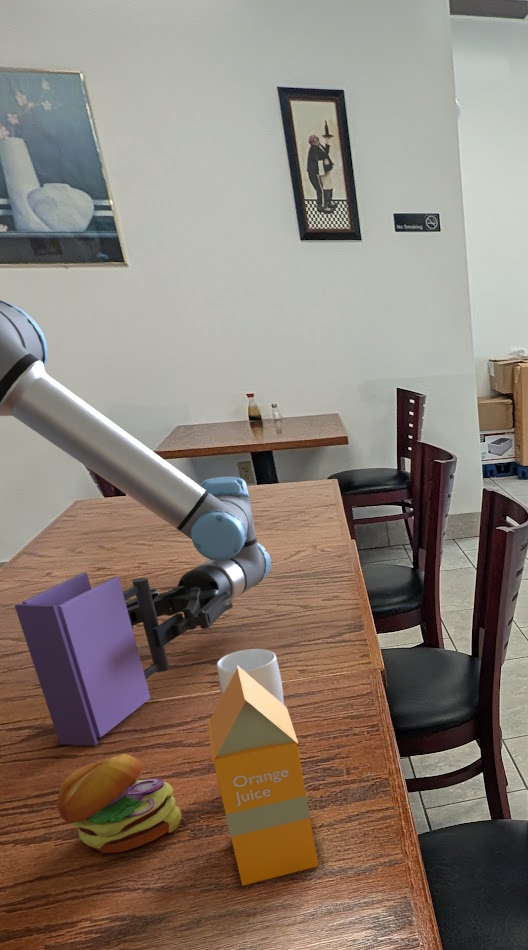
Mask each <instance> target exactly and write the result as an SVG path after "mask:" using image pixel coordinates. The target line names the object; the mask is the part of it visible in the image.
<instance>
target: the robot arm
mask: <svg viewBox="0 0 528 950" xmlns="http://www.w3.org/2000/svg"><path fill="white" fill-rule="evenodd" d="M48 355H49V348H48V343H47V340H46V337H45V334H44V333H43V331H42V329H41V327H40V325H39V324H38V323H37V321H35V320H34V318H33V317H32V316H31V315H30V314H28V313H27V312H26V311H25V310H23V309H21V308H20V307H17V306H16V305H14V304H13V303H9V302H5V301H3V300H1V299H0V417H14V418H15V419H16V420H18V421H19V422H21V423H22V424H24V425H25V426H26V427H28V428H29V429H31V430H32V431H34V432H35V433H37V434H38V435H40V436H41V437H42V438H44V439H46V440H47V441H48V442H49V443H51V444H52V445H54V446H56V447H57V448H58V449H60V450H62V451H63V452H64V453H66V454H67V455H69V456H70V457H71V458H73V459H74V460H76V461H78V462H79V463H80V464H81V465H83V466H85V467H86V468H87V469H89V470H91V472H94V473H95V474H97V475H98V476H99V477H101V478H102V479H104V480H105V481H107V482H108V483H109V484H111V485H112V486H114V487H115V488H117V489H118V490H120V491H121V492H122V493H124V494H125V495H127V496H129V497H130V498H131V499H132V500H134V501H136V502H137V503H139V504H140V505H141V506H143V507H144V508H146V509H147V510H149V511H150V512H152V513H153V514H155V515H156V516H157V517H159V518H161V520H163V521H165V522H166V523H168V524H169V525H170V526H172V527H173V528H175V530H178V531H179V532H180V533H182V534H184V535H185V536H186V537H187V538H188V539H190V540H191V542H192V545H193V547H194V548H195V550H196V551H197V552H198V553H199V554H200V555H201V556H202V557H204V558H206V559H208V560H206V561H204V562H202V563H201V564H199V565H198V566H195V567H194V568H192V569H190V570H188V571H187V572H186V573H185V572H184V574H183V575H182V576H181V577H180V578H179V581H178V583H177V586H175V587H173V588H172V589H170V590H168V591H165V592H162V593H159V591H158V589H157V588H150V591H151V595H152V599H153V603H154V607H155V611H156V615H157V618H159V617H161V616H168V617H169V618H167V619H166V620H164V621H163V622H161V623H159V625H158V626H156V627H155V628H153V629H152V632H153V636H154V640H155V644H156V647H163V646H164V647H165V646H166V645H167V644H168V643H170V642H172V641H173V640H175V639H176V638H178V637H179V636H180V635H182V634H183V635H184V633H186V632H187V631H191V630H192V631H193V630H195V629H196V628H197V627H200V628H201V629H202V630H203V629H204V630H207V629H209V628H210V627H211V626H212V625H213V624H214V623H215V622H216V621H217V620H218V619H219V618H220V617H221V616H222V615H223V614H224V613H225V612H227V611H229V610H230V609H233V607H234V606H233V600H235V599H236V598H238V597H240V596H241V595H243V594H244V593H246V592H247V591H249V590H250V589H252V588H254V587H256V586H257V585H259V583H261V582H262V581H263V580H264V579H265V578H266V577H267V576H268V574H269V573H270V572H271V568H272V558H271V555H270V554H269V553H268V551H267V550H266V548H265V547H264V546H263V544H260V543H259V542H258V539H257V536H256V530H255V524H254V523H255V522H254V519H253V511H252V504H251V495H250V494H249V490H248V486H247V485H248V484H247V482H246V480H244V479H243V478H242V477H238V476H218V477H210V478H207V479H205V480H203V481H202V482H200V484H198V483H197V482H195V481H194V480H192V479H191V478H190V477H188V476H187V475H186V474H185V473H183V472H182V471H181V470H179V469H178V468H176V467H175V466H173V465H172V464H171V463H170V462H168V461H167V460H165V459H164V458H162V457H161V456H160V455H158V454H157V453H156V452H154V451H153V450H151V449H150V448H149V447H147V446H146V445H144V443H142V442H141V441H139V440H138V439H136V438H135V437H134V436H133V435H131V434H129V432H127V431H125V429H123V428H121V427H120V426H119V425H117V424H116V423H115V422H114V421H112V420H110V419H109V418H108V417H106V416H105V415H104V414H102V413H101V412H99V411H98V410H97V409H95V408H94V407H92V406H91V405H90V404H89V403H87V402H86V401H84V400H83V399H82V398H80V397H79V396H77V395H76V394H75V393H73V392H72V391H70V390H69V389H68V388H67V387H65V386H64V385H63V384H62V383H60V382H59V381H57V380H55V378H53V377H52V376H50V375H49V374H48V373H47V372H46V368H45V366H46V364H47V361H48ZM125 603H126V607H127V610H128V614H129V618H130V622H131V626H132V629H133V630H134V626H136V625H138V624H141V623H142V624H143V621H142V617H141V613H140V610H139V606H138V602H137V598H136V597H135V598H132V599H129V600H128V601H125Z"/></svg>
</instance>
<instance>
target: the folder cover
mask: <svg viewBox="0 0 528 950" xmlns="http://www.w3.org/2000/svg"><path fill="white" fill-rule="evenodd" d="M131 582H132V586H131V587H129V588H128V589H125V590H124V591H123V588H122V583H121V580H120V577H119V576H113V577H111V578H109V579H108V580H107V579H106V580H105V581H103V582H101V583H100V584H97V585H95V586H94V587H91V589H90V590H88V591H86V592H84V593H82V594H80V595H78V596H76V597H74V598H72V599H70V600H69V601H67V602H65V603H63V604H61V605H59V606H57V609H58V612H59V615H60V618H61V622H62V625H63V628H64V632H65V635H66V638H67V641H68V645H69V648H70V651H71V655H72V658H73V661H74V665H75V668H76V671H77V674H78V678H79V681H80V684H81V688H82V691H83V694H84V698H85V701H86V704H87V707H88V711H89V714H90V717H91V721H92V724H93V727H94V730H95V734H96V738H97V739H98V738H99V739H100V738H102V737H104V736H105V735H106V734H107V733H109V732H110V731H111V730H112V729H114V728H115V727H116V726H117V725H119V724H120V723H121V722H123V721H124V720H125V719H127V718H128V717H129V716H130V715H131V714H132V713H134V712H135V711H137V710H138V709H139V708H140V707H141V706H143V705H144V704H145V703H146V702H148V701H149V700H151V694H150V691H149V687H148V682H147V679H148V678H150V677H151V676H152V675H154V674H155V673H163V672H167V671H168V670H170V668H171V667H170V664H169V660H168V655H167V651H166V648H165V645H164V646H163V647H156V644H155V640H154V636H153V632H152V629H153V628H155V627H156V626H158V625H160V623H159V619H158V617H157V615H156V611H155V607H154V603H153V599H152V595H151V591H150V590H151V587H150V584H149V579H148V578H147V577H138V578H134V579H132V580H131ZM134 596H135V598H137V602H138V606H139V610H140V613H141V617H142V621H143V622H142V624H143V629H144V632H145V636H146V640H147V644H148V648H149V652H150V656H151V659H152V664H151V665H150V666H149V667H147V668H146V669H145V670H144V668H143V664H142V660H141V657H140V653H139V649H138V645H137V641H136V638H135V634H134V633H135V632H134V628H133V629H132V626H131V622H130V618H129V614H128V610H127V607H126V603H125V602H126V601H127V600H130V599H131V598H132V597H134Z"/></svg>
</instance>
